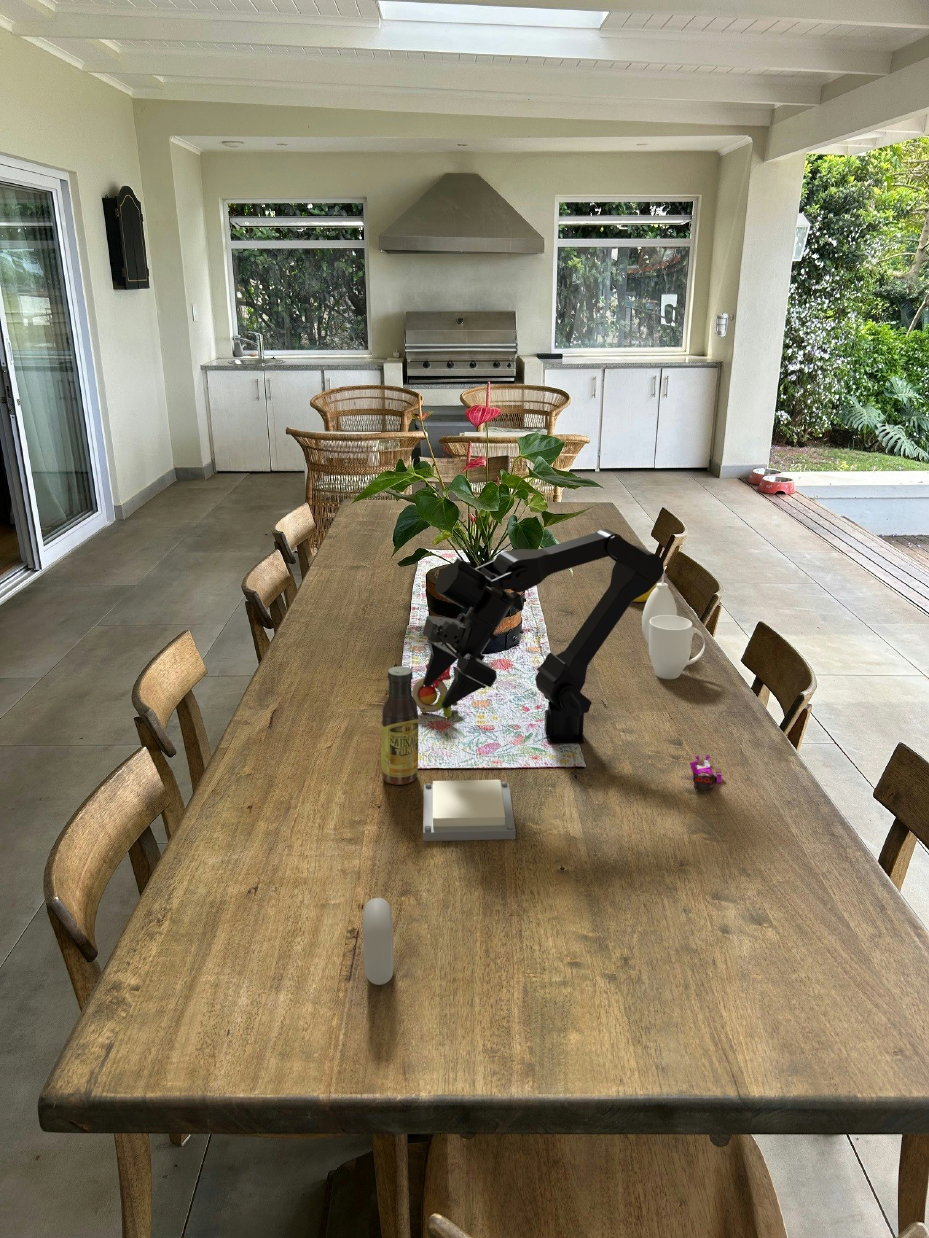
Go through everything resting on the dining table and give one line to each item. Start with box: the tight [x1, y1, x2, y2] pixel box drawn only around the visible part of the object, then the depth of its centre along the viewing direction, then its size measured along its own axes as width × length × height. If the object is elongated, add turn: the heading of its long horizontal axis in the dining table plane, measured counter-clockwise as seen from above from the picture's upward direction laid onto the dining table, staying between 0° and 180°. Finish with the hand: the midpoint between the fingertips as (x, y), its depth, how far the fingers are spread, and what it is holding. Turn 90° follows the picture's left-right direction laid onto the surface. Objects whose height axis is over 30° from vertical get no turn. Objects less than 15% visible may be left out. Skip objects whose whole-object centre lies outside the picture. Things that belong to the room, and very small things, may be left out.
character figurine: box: [689, 754, 723, 793], centre depth 155 cm, size 6×5×12 cm
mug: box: [648, 615, 706, 680], centre depth 195 cm, size 12×9×12 cm
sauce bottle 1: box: [380, 665, 420, 786], centre depth 153 cm, size 6×6×20 cm
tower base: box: [422, 779, 516, 842], centre depth 145 cm, size 14×14×3 cm
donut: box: [362, 897, 395, 986], centre depth 111 cm, size 10×4×10 cm, turn 4°
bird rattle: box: [411, 663, 459, 718], centre depth 178 cm, size 6×11×9 cm
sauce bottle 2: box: [641, 572, 678, 644], centre depth 208 cm, size 8×8×18 cm
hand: (434, 696), depth 157 cm, fingers open, 9 cm apart
